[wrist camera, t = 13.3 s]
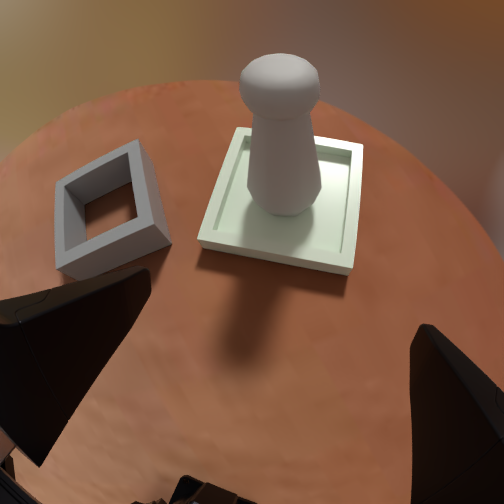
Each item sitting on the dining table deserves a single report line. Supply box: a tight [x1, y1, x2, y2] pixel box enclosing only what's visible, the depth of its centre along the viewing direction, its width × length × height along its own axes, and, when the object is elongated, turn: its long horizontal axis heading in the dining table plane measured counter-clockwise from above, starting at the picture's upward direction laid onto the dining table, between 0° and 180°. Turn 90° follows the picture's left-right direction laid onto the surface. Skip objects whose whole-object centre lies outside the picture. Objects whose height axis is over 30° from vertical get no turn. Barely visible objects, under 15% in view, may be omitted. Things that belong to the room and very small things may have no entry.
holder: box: [55, 139, 172, 281], centre depth 25 cm, size 10×10×4 cm
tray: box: [197, 127, 363, 276], centre depth 25 cm, size 12×12×2 cm
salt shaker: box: [239, 53, 322, 216], centre depth 19 cm, size 6×6×13 cm
